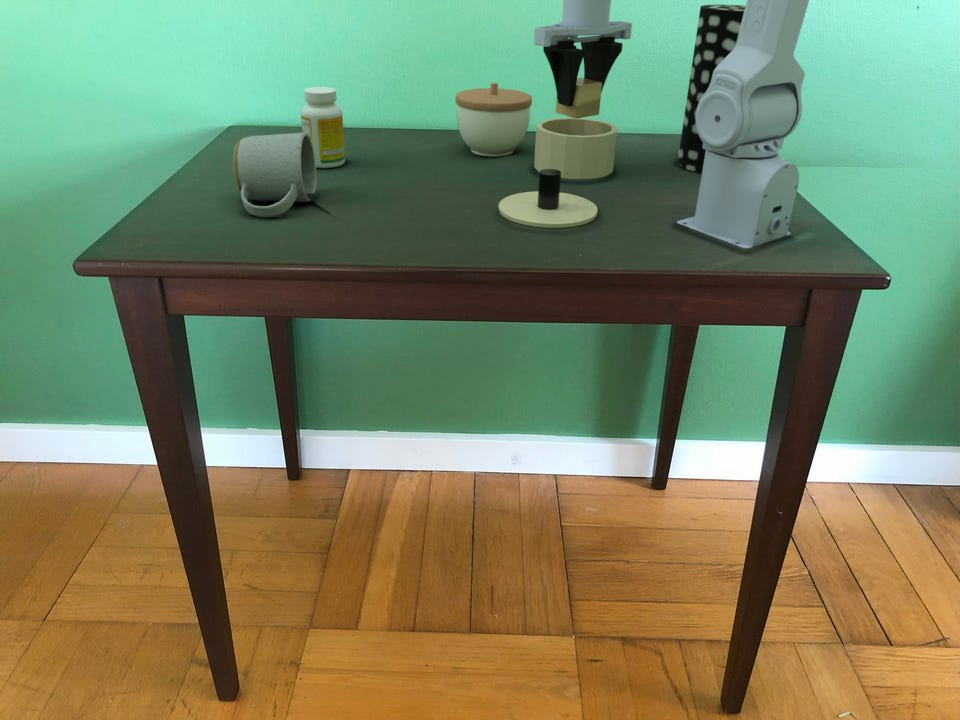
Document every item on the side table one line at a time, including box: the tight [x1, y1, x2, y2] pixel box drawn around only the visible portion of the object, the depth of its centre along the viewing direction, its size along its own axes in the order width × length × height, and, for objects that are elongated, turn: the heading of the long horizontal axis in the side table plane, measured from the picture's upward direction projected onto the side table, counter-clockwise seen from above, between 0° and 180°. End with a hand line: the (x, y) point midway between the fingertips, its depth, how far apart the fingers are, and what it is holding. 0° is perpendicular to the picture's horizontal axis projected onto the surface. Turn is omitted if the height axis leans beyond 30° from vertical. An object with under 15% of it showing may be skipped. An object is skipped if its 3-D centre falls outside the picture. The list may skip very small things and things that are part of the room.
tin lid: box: [497, 169, 599, 229], centre depth 86 cm, size 11×11×5 cm
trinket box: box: [455, 82, 533, 157], centre depth 109 cm, size 11×11×9 cm
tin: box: [533, 117, 618, 180], centre depth 102 cm, size 10×10×6 cm
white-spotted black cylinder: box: [676, 4, 746, 174], centre depth 102 cm, size 8×8×20 cm
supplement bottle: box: [300, 86, 346, 169], centre depth 102 cm, size 5×5×10 cm
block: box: [555, 77, 602, 118], centre depth 98 cm, size 4×4×4 cm
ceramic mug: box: [232, 132, 317, 218], centre depth 87 cm, size 11×8×8 cm
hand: (578, 102), depth 99 cm, fingers closed on block, 4 cm apart
